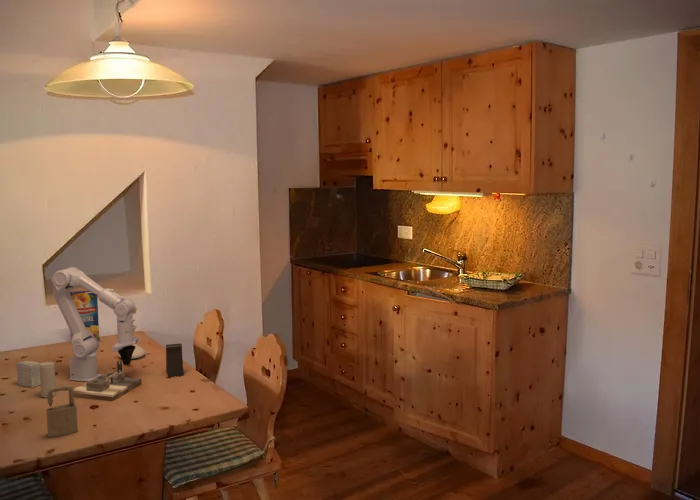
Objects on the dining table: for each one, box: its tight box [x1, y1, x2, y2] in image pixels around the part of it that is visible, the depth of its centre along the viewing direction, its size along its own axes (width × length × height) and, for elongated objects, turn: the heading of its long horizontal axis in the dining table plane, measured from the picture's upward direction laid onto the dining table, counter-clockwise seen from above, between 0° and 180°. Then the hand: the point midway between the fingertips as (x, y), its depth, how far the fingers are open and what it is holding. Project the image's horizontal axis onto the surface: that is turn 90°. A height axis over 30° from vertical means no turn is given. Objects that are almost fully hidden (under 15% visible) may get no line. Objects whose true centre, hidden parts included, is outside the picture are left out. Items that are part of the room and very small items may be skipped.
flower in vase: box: [117, 306, 146, 360], centre depth 264 cm, size 13×11×25 cm
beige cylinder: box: [40, 361, 57, 399], centre depth 218 cm, size 5×5×12 cm
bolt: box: [106, 360, 125, 383], centre depth 228 cm, size 8×2×6 cm, turn 166°
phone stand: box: [165, 343, 184, 378], centre depth 243 cm, size 9×6×12 cm, turn 21°
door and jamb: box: [73, 370, 142, 402], centre depth 224 cm, size 18×17×5 cm
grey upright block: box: [16, 360, 42, 389], centre depth 229 cm, size 8×4×9 cm, turn 65°
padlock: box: [46, 384, 79, 438], centre depth 186 cm, size 4×8×15 cm, turn 123°
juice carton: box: [70, 289, 100, 343], centre depth 289 cm, size 12×8×24 cm, turn 120°
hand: (126, 364), depth 236 cm, fingers closed
